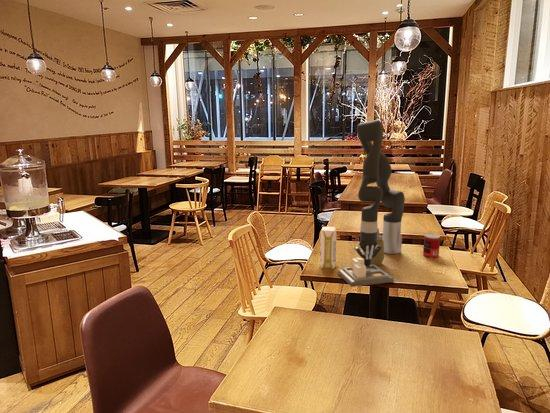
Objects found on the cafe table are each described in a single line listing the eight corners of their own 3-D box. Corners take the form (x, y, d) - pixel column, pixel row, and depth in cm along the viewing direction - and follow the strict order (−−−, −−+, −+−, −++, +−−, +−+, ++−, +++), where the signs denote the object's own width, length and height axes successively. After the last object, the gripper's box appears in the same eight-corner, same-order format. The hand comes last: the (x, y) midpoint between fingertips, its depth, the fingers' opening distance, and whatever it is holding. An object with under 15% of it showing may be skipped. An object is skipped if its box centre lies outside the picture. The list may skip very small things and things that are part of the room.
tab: (361, 274, 186) (362, 262, 185) (365, 277, 182) (366, 265, 181) (353, 275, 185) (353, 263, 184) (357, 278, 181) (357, 266, 180)
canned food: (440, 254, 218) (441, 234, 215) (436, 259, 211) (438, 238, 209) (424, 252, 222) (426, 232, 219) (421, 256, 215) (422, 236, 213)
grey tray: (377, 269, 198) (377, 263, 197) (393, 281, 184) (393, 275, 183) (337, 273, 193) (338, 267, 193) (351, 286, 179) (351, 280, 178)
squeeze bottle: (364, 263, 206) (365, 228, 202) (372, 259, 211) (374, 225, 207) (378, 267, 200) (380, 231, 196) (387, 263, 206) (389, 228, 202)
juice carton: (335, 263, 207) (336, 226, 202) (335, 269, 198) (336, 231, 194) (320, 262, 208) (321, 225, 203) (319, 268, 199) (320, 230, 195)
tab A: (359, 268, 193) (360, 256, 192) (363, 271, 189) (364, 259, 188) (351, 269, 192) (352, 257, 191) (355, 272, 188) (356, 260, 187)
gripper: (378, 226, 193) (376, 262, 196) (351, 228, 189) (350, 264, 193) (386, 231, 186) (384, 267, 189) (358, 233, 182) (357, 270, 186)
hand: (367, 266), depth 191 cm, fingers closed
